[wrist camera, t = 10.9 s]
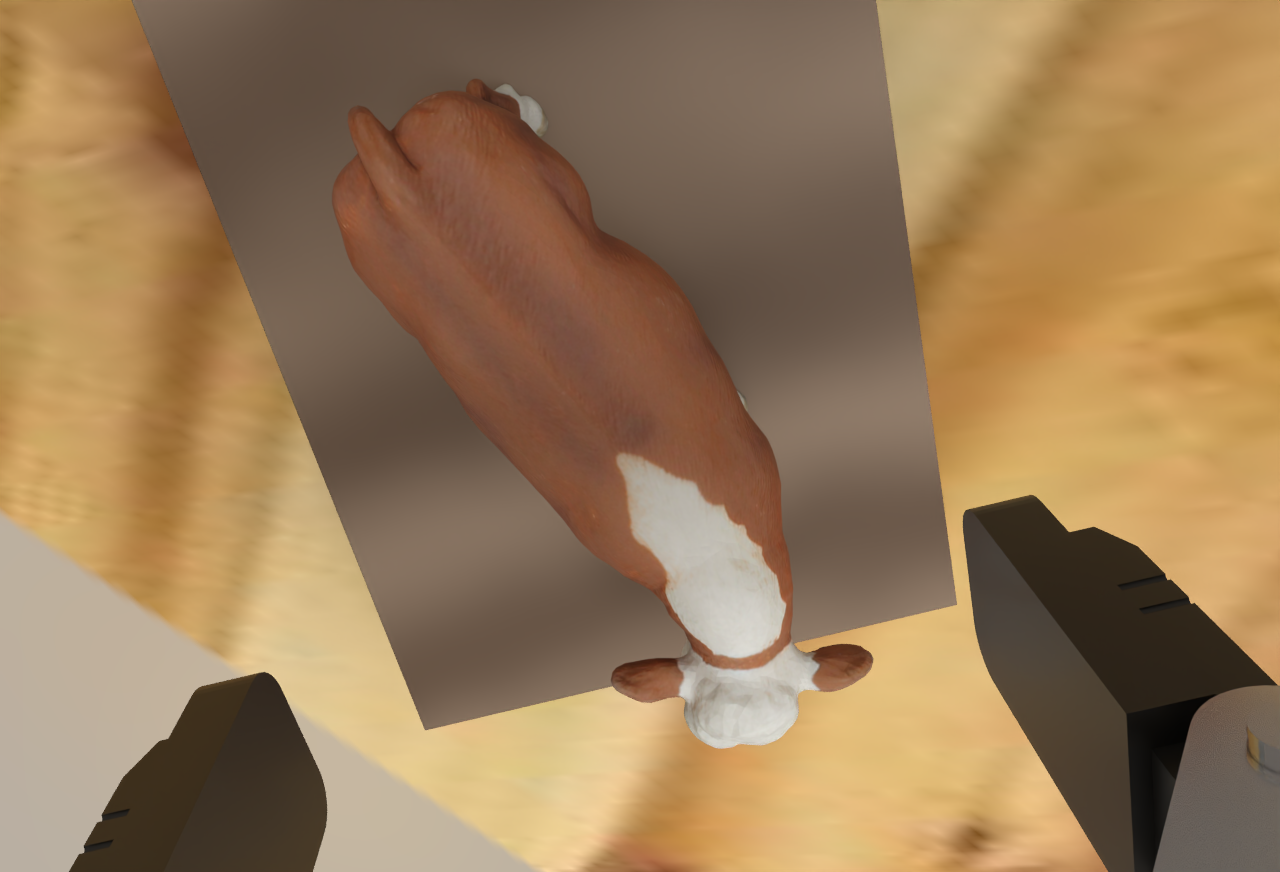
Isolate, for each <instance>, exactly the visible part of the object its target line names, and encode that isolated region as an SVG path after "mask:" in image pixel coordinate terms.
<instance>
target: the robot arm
mask: <svg viewBox="0 0 1280 872" xmlns="http://www.w3.org/2000/svg"><path fill="white" fill-rule="evenodd" d="M963 533H964V541H965V550H966V558H967V566H968V574H969V583H970V591H971V599H972V607H973V616H974V623H975V630H976V635H977V639H978V643H979V646H980V650H981V653H982V656H983V659H984V662H985V664H986V667H987V669H988V672H989V674H990V676H991V678H992V680H993V682H994V683H995V685H996V687H997V688H998V690H999V692H1000V693H1001V695H1002V697H1003V698H1004V700H1005V702H1006V703H1007V705H1008V706H1009V708H1010V710H1011V711H1012V713H1013V715H1014V716H1015V718H1016V720H1017V721H1018V723H1019V725H1020V726H1021V728H1022V730H1023V731H1024V733H1025V735H1026V736H1027V738H1028V740H1029V741H1030V743H1031V745H1032V746H1033V748H1034V749H1035V751H1036V753H1037V754H1038V756H1039V758H1040V759H1041V761H1042V763H1043V764H1044V766H1045V768H1046V769H1047V771H1048V773H1049V774H1050V776H1051V778H1052V779H1053V781H1054V783H1055V784H1056V786H1057V787H1058V789H1059V791H1060V792H1061V794H1062V796H1063V797H1064V799H1065V801H1066V802H1067V804H1068V806H1069V807H1070V809H1071V811H1072V812H1073V814H1074V816H1075V817H1076V819H1077V821H1078V822H1079V824H1080V826H1081V827H1082V829H1083V830H1084V832H1085V834H1086V835H1087V837H1088V839H1089V840H1090V842H1091V844H1092V845H1093V847H1094V849H1095V850H1096V852H1097V854H1098V855H1099V857H1100V859H1101V860H1102V862H1103V864H1104V865H1105V867H1106V868H1107V870H1108V872H1280V686H1278V685H1277V684H1276V683H1275V682H1274V681H1273V680H1272V679H1271V678H1270V677H1269V676H1268V675H1267V674H1266V673H1265V672H1264V671H1263V670H1262V669H1261V668H1260V667H1259V666H1258V665H1257V664H1256V663H1255V662H1254V661H1253V660H1252V659H1251V658H1250V657H1249V656H1248V655H1247V654H1246V653H1245V652H1244V651H1243V650H1242V649H1241V648H1240V647H1239V646H1238V645H1237V644H1236V643H1235V642H1234V641H1233V640H1231V639H1230V638H1229V637H1228V636H1227V635H1226V634H1225V633H1224V632H1223V631H1222V630H1221V629H1220V628H1219V627H1218V626H1217V625H1216V624H1215V623H1214V622H1213V621H1212V620H1211V619H1210V618H1209V617H1208V616H1207V615H1206V614H1205V613H1204V612H1203V611H1202V610H1201V609H1200V608H1199V607H1198V606H1197V605H1196V604H1195V603H1193V604H1191V603H1190V601H1189V597H1188V596H1187V595H1186V594H1185V593H1184V592H1183V591H1182V590H1181V589H1180V588H1179V587H1178V586H1177V585H1176V584H1175V583H1174V582H1173V581H1172V580H1167V579H1166V576H1165V573H1164V572H1163V571H1162V570H1161V569H1160V568H1159V567H1158V566H1157V565H1156V564H1155V563H1154V562H1153V561H1152V560H1151V559H1150V558H1149V557H1148V556H1147V555H1146V554H1145V553H1144V552H1143V551H1142V550H1141V549H1140V548H1139V547H1138V546H1136V545H1133V544H1131V543H1129V542H1127V541H1125V540H1122V539H1120V538H1118V537H1116V536H1113V535H1111V534H1109V533H1107V532H1105V531H1102V530H1100V529H1098V528H1096V527H1091V528H1087V529H1082V530H1078V531H1074V532H1068V531H1067V530H1066V528H1065V527H1064V526H1063V525H1062V524H1061V523H1060V522H1059V521H1058V520H1057V519H1056V517H1055V516H1054V515H1053V514H1052V513H1051V512H1050V511H1049V510H1048V509H1047V508H1046V506H1045V505H1044V504H1043V503H1042V502H1041V501H1040V500H1039V499H1038V498H1037V497H1035V496H1034V495H1029V496H1024V497H1020V498H1016V499H1011V500H1007V501H1003V502H999V503H994V504H990V505H986V506H981V507H977V508H973V509H969V510H966V511H965V512H964V515H963ZM326 821H327V800H326V792H325V787H324V783H323V779H322V776H321V774H320V771H319V769H318V767H317V765H316V763H315V760H314V759H313V756H312V754H311V752H310V750H309V747H308V745H307V743H306V741H305V739H304V737H303V734H302V733H301V730H300V728H299V726H298V724H297V722H296V719H295V717H294V715H293V713H292V711H291V709H290V706H289V704H288V702H287V700H286V698H285V696H284V694H283V691H282V689H281V687H280V686H279V684H278V682H277V681H276V679H275V678H274V677H273V676H272V675H270V674H269V673H266V672H262V673H257V674H253V675H249V676H244V677H240V678H236V679H231V680H227V681H223V682H219V683H215V684H210V685H206V686H202V687H200V688H198V689H197V690H196V691H195V692H194V693H193V695H192V696H191V699H190V700H189V702H188V704H187V705H186V707H185V709H184V711H183V713H182V715H181V717H180V718H179V720H178V722H177V724H176V726H175V728H174V729H173V731H172V733H171V735H170V737H169V739H166V740H162V741H159V742H158V743H157V744H156V745H155V746H154V747H153V748H152V749H151V750H150V751H149V752H148V753H147V754H146V755H145V756H144V757H143V758H142V759H141V760H140V761H139V762H138V763H137V764H136V765H135V766H134V767H133V768H132V769H131V770H130V771H129V772H128V773H127V774H126V775H125V776H124V777H123V779H122V780H121V782H120V784H119V786H118V787H117V789H116V791H115V792H114V794H113V796H112V798H111V799H110V801H109V803H108V805H107V806H106V808H105V810H104V812H103V813H102V822H98V823H97V824H96V826H95V827H94V829H93V831H92V833H91V835H90V836H89V838H88V840H87V841H86V843H85V845H84V848H85V852H84V853H83V854H79V855H78V857H77V859H76V860H75V862H74V864H73V866H72V867H71V869H70V871H69V872H313V869H314V866H315V862H316V859H317V856H318V852H319V848H320V845H321V842H322V839H323V835H324V832H325V828H326Z"/></svg>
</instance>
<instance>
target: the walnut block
mask: <svg viewBox="0 0 1280 872" xmlns="http://www.w3.org/2000/svg"><path fill="white" fill-rule="evenodd" d="M132 2H133V5H134V7H135V10H136V12H137V15H138V17H139V20H140V22H141V25H142V27H143V30H144V32H145V35H146V37H147V40H148V42H149V45H150V47H151V50H152V52H153V55H154V57H155V60H156V62H157V65H158V67H159V70H160V72H161V74H162V77H163V79H164V82H165V84H166V87H167V89H168V92H169V94H170V97H171V99H172V102H173V104H174V107H175V109H176V112H177V114H178V117H179V119H180V122H181V124H182V127H183V129H184V132H185V134H186V137H187V139H188V142H189V144H190V147H191V149H192V152H193V154H194V157H195V159H196V162H197V164H198V167H199V169H200V172H201V174H202V176H203V179H204V181H205V184H206V186H207V189H208V191H209V194H210V196H211V199H212V201H213V204H214V206H215V209H216V211H217V214H218V216H219V219H220V221H221V224H222V226H223V229H224V231H225V234H226V236H227V239H228V241H229V244H230V246H231V249H232V251H233V254H234V256H235V259H236V261H237V264H238V266H239V269H240V271H241V274H242V276H243V278H244V281H245V283H246V286H247V288H248V291H249V293H250V296H251V298H252V301H253V303H254V306H255V308H256V311H257V313H258V316H259V318H260V321H261V323H262V326H263V328H264V331H265V333H266V336H267V338H268V341H269V343H270V346H271V348H272V351H273V353H274V356H275V358H276V361H277V363H278V366H279V368H280V371H281V373H282V375H283V378H284V380H285V383H286V385H287V388H288V390H289V393H290V395H291V398H292V400H293V403H294V405H295V408H296V410H297V413H298V415H299V418H300V420H301V423H302V425H303V428H304V430H305V433H306V435H307V438H308V440H309V443H310V445H311V448H312V450H313V453H314V455H315V458H316V460H317V463H318V465H319V468H320V470H321V473H322V475H323V477H324V480H325V482H326V485H327V487H328V490H329V492H330V495H331V497H332V500H333V502H334V505H335V507H336V510H337V512H338V515H339V517H340V520H341V522H342V525H343V527H344V530H345V532H346V535H347V537H348V540H349V542H350V545H351V547H352V550H353V552H354V555H355V557H356V560H357V562H358V565H359V567H360V570H361V572H362V575H363V577H364V579H365V582H366V584H367V587H368V589H369V592H370V594H371V597H372V599H373V602H374V604H375V607H376V609H377V612H378V614H379V617H380V619H381V622H382V624H383V627H384V629H385V632H386V634H387V637H388V639H389V642H390V644H391V647H392V649H393V652H394V654H395V657H396V659H397V662H398V664H399V667H400V669H401V672H402V674H403V676H404V679H405V681H406V684H407V686H408V689H409V691H410V694H411V696H412V699H413V701H414V704H415V706H416V709H417V711H418V714H419V716H420V719H421V721H422V724H423V726H424V729H425V730H429V729H433V728H437V727H441V726H446V725H450V724H454V723H458V722H463V721H467V720H471V719H475V718H480V717H484V716H488V715H492V714H496V713H501V712H505V711H509V710H513V709H518V708H522V707H526V706H530V705H535V704H539V703H543V702H547V701H551V700H556V699H560V698H564V697H568V696H573V695H577V694H581V693H585V692H590V691H594V690H598V689H602V688H607V687H611V686H612V683H611V676H612V672H613V671H614V670H615V668H616V667H618V666H620V665H622V664H624V663H629V662H635V661H640V660H645V659H653V658H679V657H681V656H682V650H683V647H684V646H685V644H686V641H687V638H686V635H685V632H684V630H683V629H682V628H681V627H680V626H679V625H678V624H677V623H676V622H675V621H674V620H673V619H672V618H671V617H670V616H669V614H668V612H667V609H666V607H665V605H664V603H663V602H662V601H661V600H660V599H659V598H658V597H657V596H656V595H655V594H654V593H653V592H652V591H650V590H649V589H648V588H646V587H644V586H643V585H641V584H638V583H636V582H634V581H632V580H631V579H629V578H627V577H625V576H623V575H622V574H621V573H620V572H618V571H617V570H616V569H614V568H613V567H612V566H610V565H609V564H607V563H605V562H604V561H602V560H601V559H599V558H597V557H596V556H595V555H594V554H592V553H591V552H590V551H589V550H588V549H587V548H586V547H585V546H584V545H583V544H582V543H581V542H580V541H579V540H578V539H577V537H576V536H575V535H574V533H573V532H572V531H571V529H570V528H569V527H568V525H567V524H566V523H565V521H564V520H563V519H562V518H561V517H560V516H559V514H558V513H557V512H556V511H555V510H554V509H553V507H552V506H551V505H550V504H549V503H548V502H547V501H546V500H545V498H544V497H543V496H542V495H541V494H540V493H539V492H538V491H537V490H536V489H535V488H534V486H533V485H532V484H531V483H530V482H529V481H528V480H527V479H526V478H525V477H524V476H523V475H522V474H521V472H520V471H519V470H518V469H517V468H516V467H515V466H514V465H513V464H512V463H511V462H510V461H509V460H508V459H507V457H506V456H505V455H504V454H503V453H502V452H501V451H500V450H499V449H498V448H497V447H496V446H495V445H494V444H493V443H492V442H491V441H490V440H489V439H488V438H487V437H486V436H485V435H484V434H483V433H482V431H481V430H480V429H479V428H478V427H477V426H476V424H475V423H474V422H473V421H472V419H471V418H470V417H469V416H468V414H467V413H466V412H465V410H464V408H463V406H462V405H461V403H460V401H459V399H458V398H457V396H456V394H455V393H454V391H453V390H452V389H451V388H450V386H449V385H448V384H447V383H446V381H445V380H444V379H443V377H442V376H441V374H440V373H439V371H438V370H437V368H436V367H435V366H434V364H433V363H432V361H431V360H430V358H429V357H428V355H427V354H426V352H425V350H424V349H423V347H422V346H421V344H420V343H419V341H418V340H417V338H415V337H413V336H412V335H410V334H409V333H407V332H406V331H405V330H404V329H403V328H402V327H401V326H400V325H399V323H398V322H397V321H396V320H395V319H394V318H393V317H392V315H391V314H390V313H389V311H388V310H387V309H386V307H385V306H384V305H383V303H382V302H381V301H380V300H379V299H378V298H377V297H376V296H375V295H374V294H373V293H372V291H371V290H370V289H369V288H368V287H367V286H366V285H365V283H364V282H363V281H362V280H361V278H360V277H359V276H358V275H357V273H356V272H355V270H354V269H353V266H352V264H351V262H350V260H349V258H348V255H347V252H346V249H345V245H344V242H343V238H342V234H341V231H340V228H339V225H338V222H337V219H336V217H335V213H334V209H333V206H332V192H333V186H334V183H335V181H336V178H337V176H338V175H339V173H340V172H341V170H342V169H343V168H344V167H345V166H346V165H347V164H348V163H349V162H350V161H351V160H352V159H353V158H354V157H355V156H356V155H357V154H358V152H357V150H356V148H355V145H354V143H353V140H352V137H351V134H350V130H349V126H348V112H349V111H350V109H351V108H353V107H355V106H357V105H359V106H364V107H366V108H368V109H369V110H370V111H371V112H372V113H373V115H374V116H375V117H376V118H377V119H378V120H379V121H380V122H381V123H382V124H383V125H384V126H385V127H386V129H388V130H389V131H390V130H392V129H393V128H394V127H395V126H396V124H397V123H398V121H399V120H400V119H401V117H402V116H403V115H404V114H405V113H407V112H408V111H409V110H410V109H411V108H412V107H413V106H414V105H415V104H416V103H417V102H418V101H420V100H421V99H423V98H425V97H427V96H430V95H432V94H435V93H438V92H444V91H462V92H466V86H467V84H468V82H470V81H471V80H472V79H480V80H482V81H483V82H484V83H485V84H486V86H487V87H488V88H490V89H492V90H496V88H498V87H500V86H501V85H503V84H507V85H510V86H511V87H513V89H514V90H515V92H516V93H517V94H518V95H519V96H529V97H531V98H532V99H534V100H535V101H536V102H537V103H538V104H539V105H540V106H541V107H542V109H543V110H544V112H545V114H546V116H547V119H548V128H547V132H546V134H545V135H544V136H543V137H541V139H542V140H543V141H545V142H546V143H547V144H549V145H550V146H551V147H553V148H554V149H555V150H556V151H558V152H559V153H560V154H561V155H562V156H563V157H564V158H565V159H566V160H567V161H568V162H569V163H570V164H571V165H572V166H573V167H574V169H575V170H576V171H577V172H578V174H579V175H580V177H581V179H582V180H583V182H584V184H585V186H586V188H587V191H588V194H589V196H590V200H591V206H592V212H593V218H594V221H595V223H596V225H597V227H598V228H599V229H600V230H602V231H603V232H605V233H607V234H609V235H611V236H613V237H616V238H618V239H620V240H622V241H625V242H626V243H628V244H629V245H631V246H633V247H634V248H636V249H637V250H639V251H641V252H642V253H644V254H645V255H647V256H648V257H649V258H651V259H652V260H653V261H654V262H656V263H657V264H658V265H660V266H661V267H662V268H663V269H664V270H665V271H666V272H667V273H668V274H669V275H670V276H671V277H672V278H673V279H674V281H675V282H676V283H677V284H678V286H679V287H680V288H681V289H682V291H683V292H684V294H685V295H686V297H687V298H688V300H689V302H690V303H691V305H692V306H693V308H694V311H695V313H696V315H697V317H698V319H699V321H700V323H701V325H702V327H703V329H704V331H705V333H706V335H707V337H708V339H709V340H710V342H711V343H712V345H713V346H714V348H715V349H716V351H717V352H718V354H719V355H720V357H721V359H722V360H723V362H724V364H725V366H726V368H727V370H728V372H729V374H730V377H731V379H732V381H733V383H734V386H735V388H736V390H738V391H740V392H741V393H742V394H743V395H744V396H745V397H746V400H747V404H748V414H749V415H750V417H751V418H752V419H753V421H754V422H755V423H756V425H757V426H758V427H759V428H760V430H761V431H762V432H763V433H764V435H765V436H766V437H767V439H768V441H769V443H770V445H771V447H772V450H773V453H774V456H775V459H776V462H777V467H778V471H779V476H780V481H781V510H782V531H783V535H784V538H785V541H786V545H787V547H788V552H789V558H790V566H791V574H792V582H793V617H792V624H791V631H790V633H791V638H792V642H793V643H797V642H801V641H805V640H810V639H814V638H818V637H822V636H827V635H831V634H835V633H839V632H843V631H848V630H852V629H856V628H860V627H865V626H869V625H873V624H877V623H882V622H886V621H890V620H894V619H898V618H903V617H907V616H911V615H915V614H920V613H924V612H928V611H932V610H937V609H941V608H945V607H949V606H953V605H957V601H956V594H955V586H954V579H953V571H952V564H951V557H950V549H949V542H948V534H947V527H946V519H945V512H944V504H943V497H942V489H941V482H940V475H939V467H938V460H937V452H936V445H935V437H934V430H933V422H932V415H931V407H930V400H929V393H928V385H927V378H926V370H925V363H924V355H923V348H922V340H921V333H920V325H919V318H918V311H917V303H916V296H915V288H914V281H913V273H912V266H911V258H910V251H909V244H908V236H907V229H906V221H905V214H904V206H903V199H902V191H901V184H900V176H899V169H898V162H897V154H896V147H895V139H894V132H893V124H892V117H891V109H890V102H889V94H888V87H887V80H886V72H885V65H884V57H883V50H882V42H881V35H880V27H879V20H878V13H877V5H876V0H132Z"/></svg>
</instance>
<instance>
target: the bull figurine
mask: <svg viewBox="0 0 1280 872" xmlns="http://www.w3.org/2000/svg"><path fill="white" fill-rule="evenodd" d="M348 126H349V130H350V134H351V137H352V140H353V143H354V145H355V148H356V150H357V152H358V154H357V155H356V156H355V157H354V158H353V159H352V160H351V161H350V162H349V163H348V164H347V165H346V166H345V167H344V168H343V169H342V170H341V172H340V173H339V175H338V176H337V178H336V181H335V183H334V186H333V192H332V206H333V209H334V213H335V217H336V219H337V222H338V225H339V228H340V231H341V234H342V238H343V242H344V245H345V249H346V252H347V255H348V258H349V260H350V262H351V264H352V266H353V269H354V270H355V272H356V273H357V275H358V276H359V277H360V278H361V280H362V281H363V282H364V283H365V285H366V286H367V287H368V288H369V289H370V290H371V291H372V293H373V294H374V295H375V296H376V297H377V298H378V299H379V300H380V301H381V302H382V303H383V305H384V306H385V307H386V309H387V310H388V311H389V313H390V314H391V315H392V317H393V318H394V319H395V320H396V321H397V322H398V323H399V325H400V326H401V327H402V328H403V329H404V330H405V331H406V332H407V333H409V334H410V335H412V336H413V337H415V338H417V340H418V341H419V343H420V344H421V346H422V347H423V349H424V350H425V352H426V354H427V355H428V357H429V358H430V360H431V361H432V363H433V364H434V366H435V367H436V368H437V370H438V371H439V373H440V374H441V376H442V377H443V379H444V380H445V381H446V383H447V384H448V385H449V386H450V388H451V389H452V390H453V391H454V393H455V394H456V396H457V398H458V399H459V401H460V403H461V405H462V406H463V408H464V410H465V412H466V413H467V414H468V416H469V417H470V418H471V419H472V421H473V422H474V423H475V424H476V426H477V427H478V428H479V429H480V430H481V431H482V433H483V434H484V435H485V436H486V437H487V438H488V439H489V440H490V441H491V442H492V443H493V444H494V445H495V446H496V447H497V448H498V449H499V450H500V451H501V452H502V453H503V454H504V455H505V456H506V457H507V459H508V460H509V461H510V462H511V463H512V464H513V465H514V466H515V467H516V468H517V469H518V470H519V471H520V472H521V474H522V475H523V476H524V477H525V478H526V479H527V480H528V481H529V482H530V483H531V484H532V485H533V486H534V488H535V489H536V490H537V491H538V492H539V493H540V494H541V495H542V496H543V497H544V498H545V500H546V501H547V502H548V503H549V504H550V505H551V506H552V507H553V509H554V510H555V511H556V512H557V513H558V514H559V516H560V517H561V518H562V519H563V520H564V521H565V523H566V524H567V525H568V527H569V528H570V529H571V531H572V532H573V533H574V535H575V536H576V537H577V539H578V540H579V541H580V542H581V543H582V544H583V545H584V546H585V547H586V548H587V549H588V550H589V551H590V552H591V553H592V554H594V555H595V556H596V557H597V558H599V559H601V560H602V561H604V562H605V563H607V564H609V565H610V566H612V567H613V568H614V569H616V570H617V571H618V572H620V573H621V574H622V575H623V576H625V577H627V578H629V579H631V580H632V581H634V582H636V583H638V584H641V585H643V586H644V587H646V588H648V589H649V590H650V591H652V592H653V593H654V594H655V595H656V596H657V597H658V598H659V599H660V600H661V601H662V602H663V603H664V605H665V607H666V609H667V612H668V614H669V616H670V617H671V618H672V619H673V620H674V621H675V622H676V623H677V624H678V625H679V626H680V627H681V628H682V629H683V630H684V632H685V635H686V638H687V641H686V644H685V646H684V647H683V650H682V656H681V657H679V658H653V659H645V660H640V661H635V662H629V663H624V664H622V665H620V666H618V667H616V668H615V670H614V671H613V672H612V676H611V683H612V686H613V687H614V688H615V689H616V690H617V691H619V692H620V693H622V694H624V695H626V696H628V697H630V698H632V699H634V700H637V701H640V702H647V703H652V702H655V701H659V700H663V699H666V698H672V697H681V698H683V699H685V701H686V702H685V707H684V716H685V719H686V722H687V724H688V726H689V728H690V730H691V732H692V733H693V734H694V735H695V736H696V737H697V738H698V739H700V740H701V741H703V742H704V743H706V744H708V745H710V746H712V747H715V748H729V747H733V746H735V745H737V744H749V745H766V744H768V743H770V742H773V741H776V740H777V739H779V738H780V737H782V736H783V735H784V734H785V732H786V731H787V730H788V729H789V728H790V727H791V726H792V725H793V724H794V722H795V721H796V719H797V717H798V713H799V709H798V694H799V693H800V692H801V691H804V690H815V691H824V692H832V691H837V690H840V689H843V688H845V687H848V686H850V685H852V684H854V683H855V682H857V681H858V680H860V679H861V678H863V677H864V676H866V674H867V673H868V672H869V671H870V669H871V667H872V663H873V657H872V655H871V653H870V652H869V651H867V650H865V649H863V648H862V647H861V646H857V645H851V644H838V645H831V646H827V647H822V648H819V649H818V650H816V651H812V652H809V653H805V652H802V651H800V650H798V649H797V647H796V646H795V645H794V643H793V642H792V638H791V633H790V631H791V624H792V617H793V582H792V574H791V566H790V558H789V552H788V547H787V545H786V541H785V538H784V535H783V531H782V510H781V481H780V476H779V471H778V467H777V462H776V459H775V456H774V453H773V450H772V447H771V445H770V443H769V441H768V439H767V437H766V436H765V435H764V433H763V432H762V431H761V430H760V428H759V427H758V426H757V425H756V423H755V422H754V421H753V419H752V418H751V417H750V415H749V414H748V404H747V400H746V397H745V396H744V395H743V394H742V393H741V392H740V391H738V390H736V388H735V386H734V383H733V381H732V379H731V377H730V374H729V372H728V370H727V368H726V366H725V364H724V362H723V360H722V359H721V357H720V355H719V354H718V352H717V351H716V349H715V348H714V346H713V345H712V343H711V342H710V340H709V339H708V337H707V335H706V333H705V331H704V329H703V327H702V325H701V323H700V321H699V319H698V317H697V315H696V313H695V311H694V308H693V306H692V305H691V303H690V302H689V300H688V298H687V297H686V295H685V294H684V292H683V291H682V289H681V288H680V287H679V286H678V284H677V283H676V282H675V281H674V279H673V278H672V277H671V276H670V275H669V274H668V273H667V272H666V271H665V270H664V269H663V268H662V267H661V266H660V265H658V264H657V263H656V262H654V261H653V260H652V259H651V258H649V257H648V256H647V255H645V254H644V253H642V252H641V251H639V250H637V249H636V248H634V247H633V246H631V245H629V244H628V243H626V242H625V241H622V240H620V239H618V238H616V237H613V236H611V235H609V234H607V233H605V232H603V231H602V230H600V229H599V228H598V227H597V225H596V223H595V221H594V218H593V212H592V206H591V200H590V196H589V194H588V191H587V188H586V186H585V184H584V182H583V180H582V179H581V177H580V175H579V174H578V172H577V171H576V170H575V169H574V167H573V166H572V165H571V164H570V163H569V162H568V161H567V160H566V159H565V158H564V157H563V156H562V155H561V154H560V153H559V152H558V151H556V150H555V149H554V148H553V147H551V146H550V145H549V144H547V143H546V142H545V141H543V140H542V139H541V137H543V136H544V135H545V134H546V132H547V128H548V119H547V116H546V114H545V112H544V110H543V109H542V107H541V106H540V105H539V104H538V103H537V102H536V101H535V100H534V99H532V98H531V97H529V96H519V95H518V94H517V93H516V92H515V90H514V89H513V87H511V86H510V85H507V84H503V85H501V86H500V87H498V88H496V90H492V89H490V88H488V87H487V86H486V84H485V83H484V82H483V81H482V80H480V79H472V80H471V81H470V82H468V84H467V86H466V92H462V91H444V92H438V93H435V94H432V95H430V96H427V97H425V98H423V99H421V100H420V101H418V102H417V103H416V104H415V105H414V106H413V107H412V108H411V109H410V110H409V111H408V112H407V113H405V114H404V115H403V116H402V117H401V119H400V120H399V121H398V123H397V124H396V126H395V127H394V128H393V129H392V130H390V131H389V130H388V129H386V127H385V126H384V125H383V124H382V123H381V122H380V121H379V120H378V119H377V118H376V117H375V116H374V115H373V113H372V112H371V111H370V110H369V109H368V108H366V107H364V106H359V105H357V106H355V107H353V108H351V109H350V111H349V112H348Z"/></svg>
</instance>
